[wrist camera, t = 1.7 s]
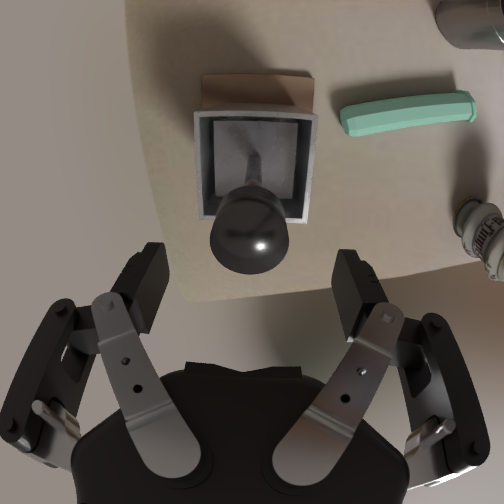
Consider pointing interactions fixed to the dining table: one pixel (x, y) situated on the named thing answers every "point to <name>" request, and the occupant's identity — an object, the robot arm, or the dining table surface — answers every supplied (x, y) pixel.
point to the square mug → (259, 112)
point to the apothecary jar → (482, 234)
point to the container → (407, 112)
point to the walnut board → (257, 89)
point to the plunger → (252, 192)
